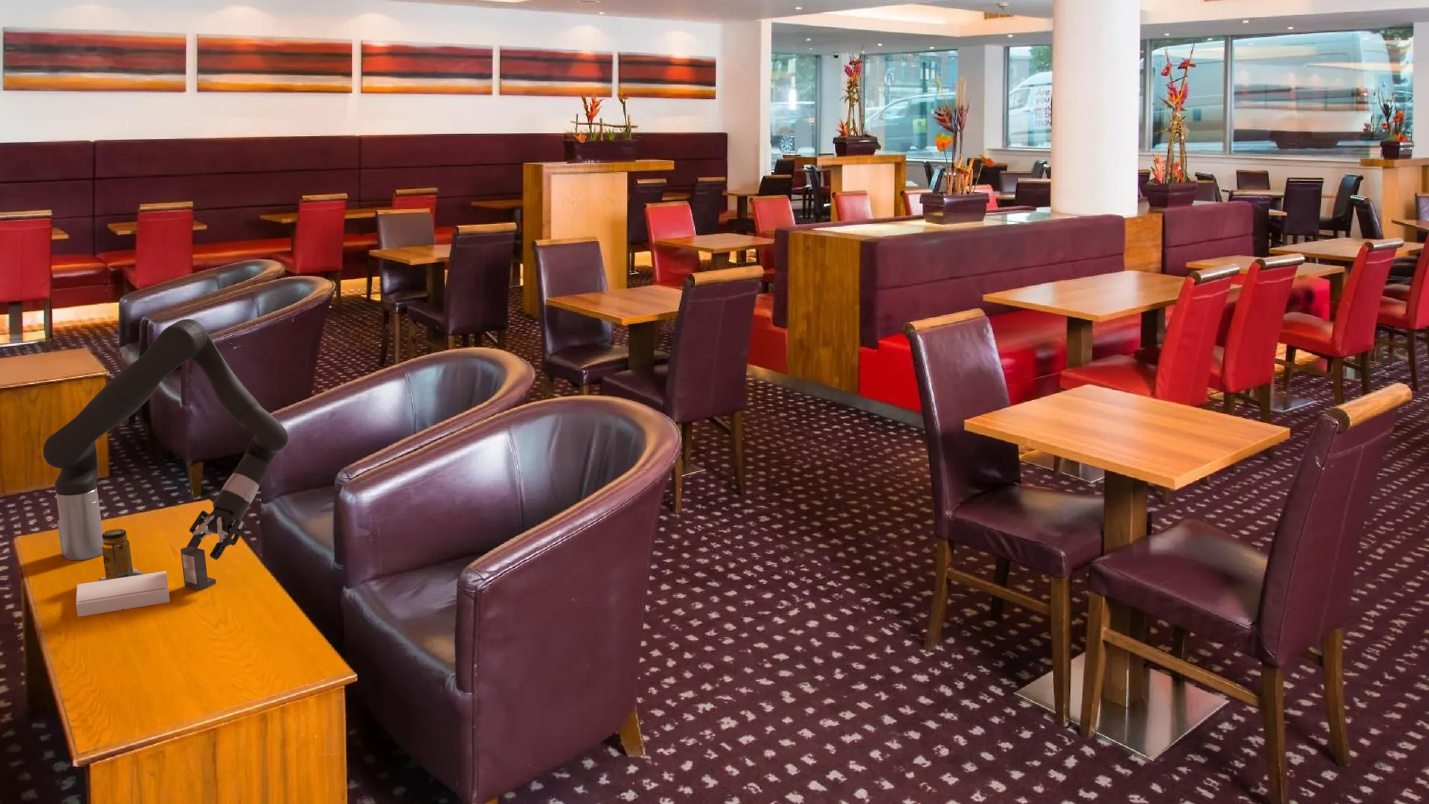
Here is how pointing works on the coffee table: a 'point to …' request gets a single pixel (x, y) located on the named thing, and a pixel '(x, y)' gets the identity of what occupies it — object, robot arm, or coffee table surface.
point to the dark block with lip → (195, 569)
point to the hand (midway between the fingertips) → (201, 555)
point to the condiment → (117, 555)
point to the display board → (122, 593)
